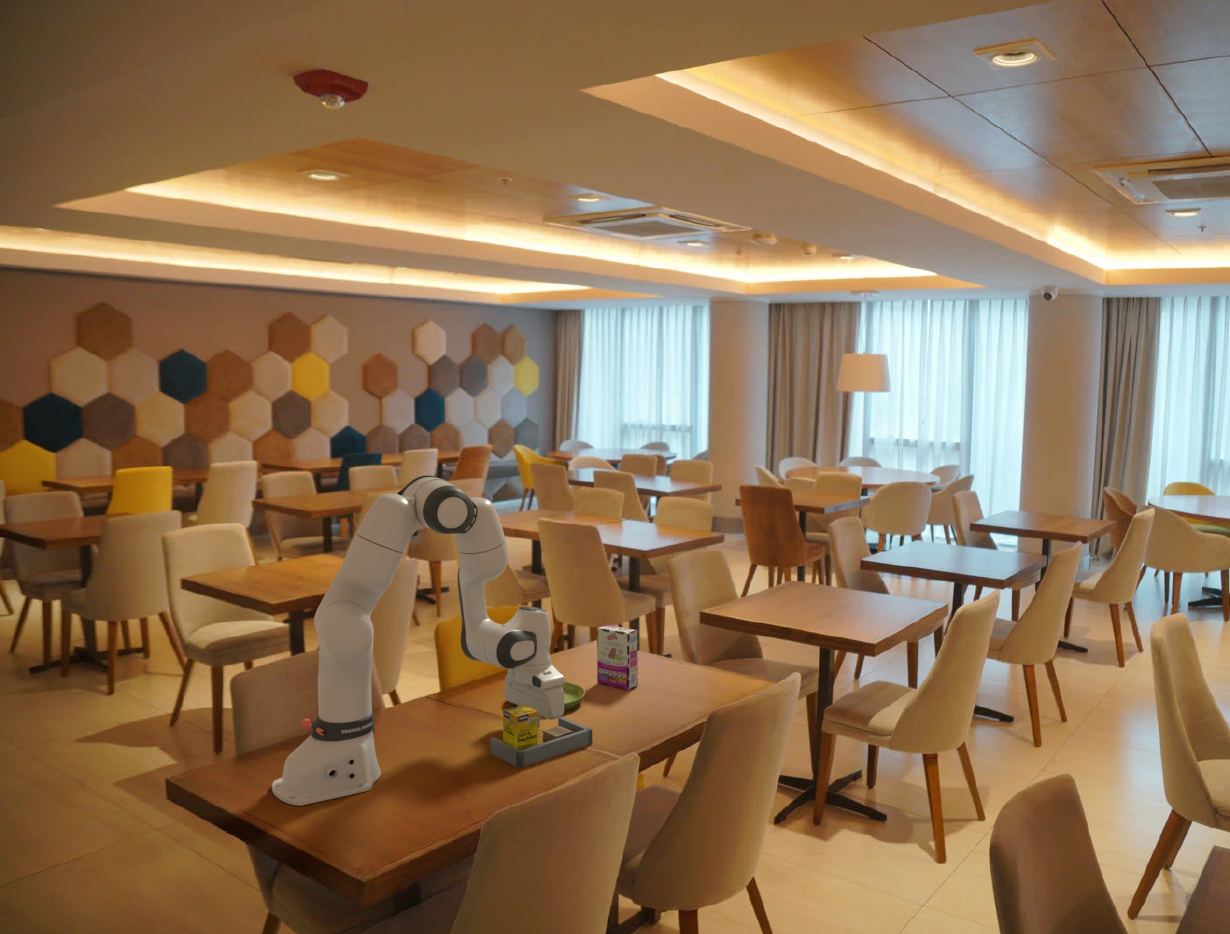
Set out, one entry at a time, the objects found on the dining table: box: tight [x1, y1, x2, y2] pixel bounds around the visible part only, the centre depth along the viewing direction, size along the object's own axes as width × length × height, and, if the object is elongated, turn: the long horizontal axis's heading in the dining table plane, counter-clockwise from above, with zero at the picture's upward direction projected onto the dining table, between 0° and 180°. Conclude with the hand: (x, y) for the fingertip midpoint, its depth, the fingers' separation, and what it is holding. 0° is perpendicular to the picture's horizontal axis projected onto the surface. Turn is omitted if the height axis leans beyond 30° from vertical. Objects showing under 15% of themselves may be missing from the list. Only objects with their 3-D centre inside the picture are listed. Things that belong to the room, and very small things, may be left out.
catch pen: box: [489, 716, 593, 769], centre depth 220 cm, size 21×11×4 cm, turn 132°
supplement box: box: [502, 705, 539, 750], centre depth 215 cm, size 6×6×11 cm
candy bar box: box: [596, 624, 639, 691], centre depth 266 cm, size 11×5×16 cm, turn 55°
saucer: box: [514, 681, 586, 712], centre depth 252 cm, size 21×21×3 cm
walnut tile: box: [542, 725, 573, 743], centre depth 224 cm, size 5×5×3 cm
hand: (533, 727), depth 229 cm, fingers closed
